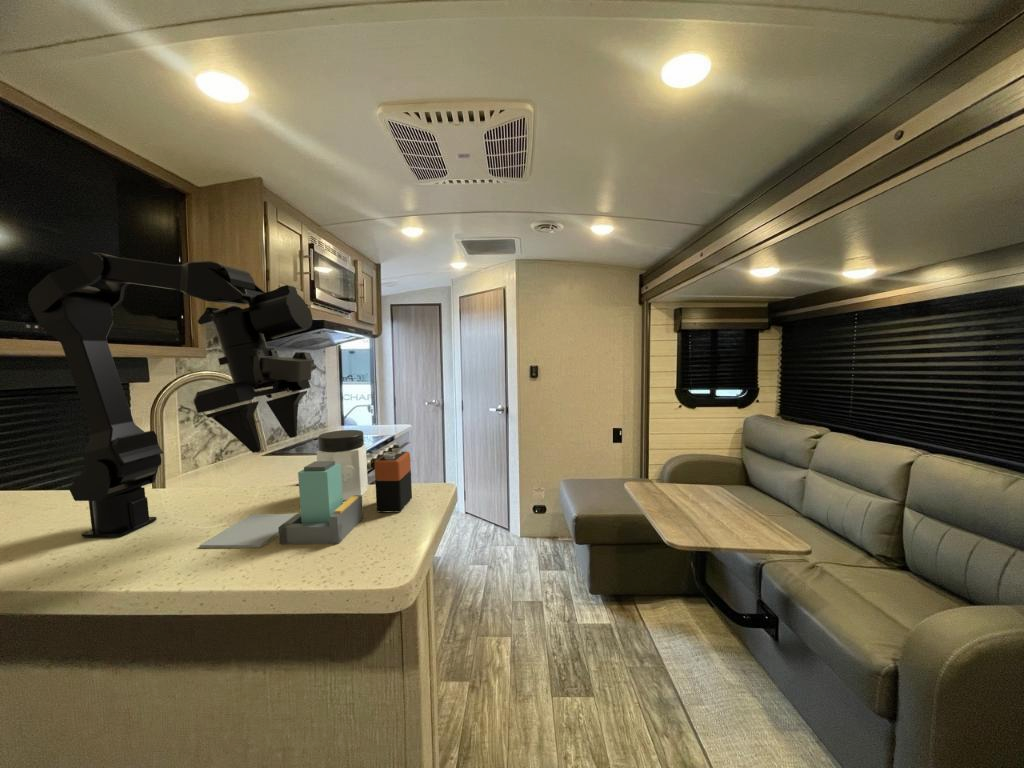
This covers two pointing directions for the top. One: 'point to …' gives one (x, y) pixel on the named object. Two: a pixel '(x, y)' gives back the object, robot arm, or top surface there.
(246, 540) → the mat
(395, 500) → the battery
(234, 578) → the top surface
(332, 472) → the plug
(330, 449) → the jar
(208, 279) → the robot arm
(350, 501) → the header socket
